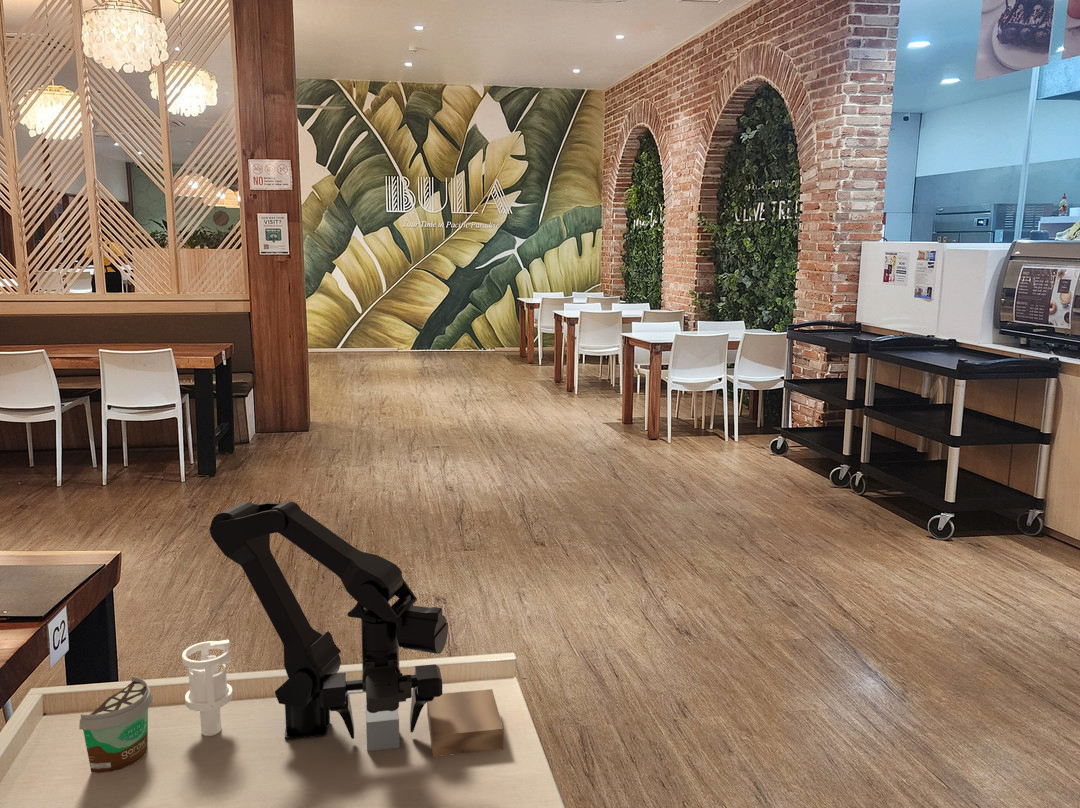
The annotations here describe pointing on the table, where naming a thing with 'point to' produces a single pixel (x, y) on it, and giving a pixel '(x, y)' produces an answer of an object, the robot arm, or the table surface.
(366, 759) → the table surface
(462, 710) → the block
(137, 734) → the food container
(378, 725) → the slate cube
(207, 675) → the strainer
